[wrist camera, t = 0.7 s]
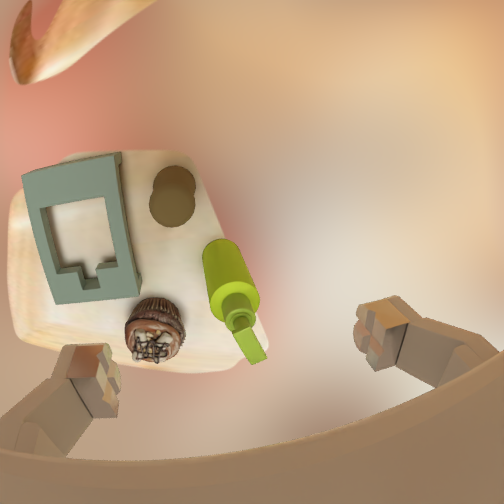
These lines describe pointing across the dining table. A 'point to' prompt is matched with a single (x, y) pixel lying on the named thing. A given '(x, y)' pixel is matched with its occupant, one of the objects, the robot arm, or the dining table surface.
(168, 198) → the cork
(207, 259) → the soap dispenser
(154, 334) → the cupcake
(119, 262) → the grey-green slotted stand
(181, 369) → the dining table surface
